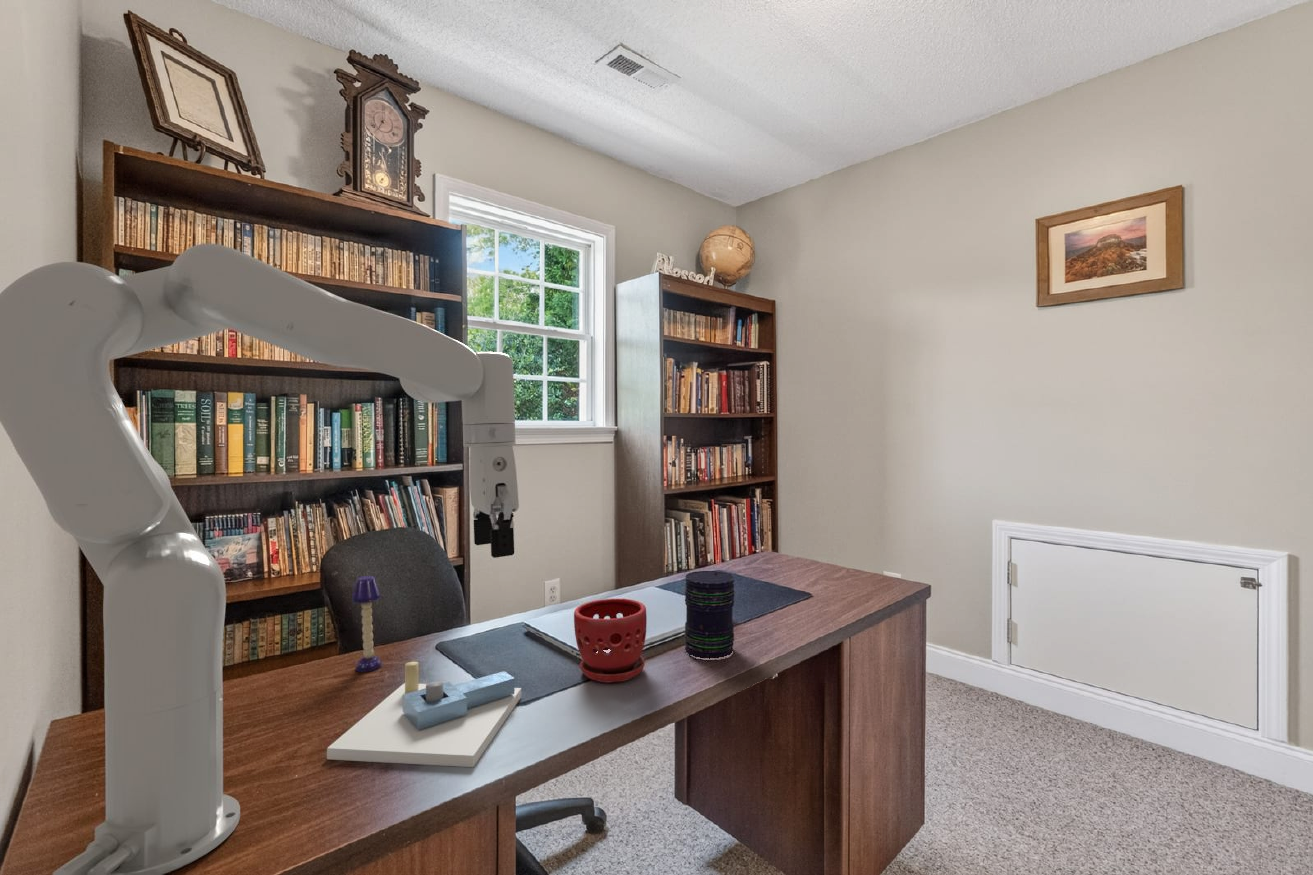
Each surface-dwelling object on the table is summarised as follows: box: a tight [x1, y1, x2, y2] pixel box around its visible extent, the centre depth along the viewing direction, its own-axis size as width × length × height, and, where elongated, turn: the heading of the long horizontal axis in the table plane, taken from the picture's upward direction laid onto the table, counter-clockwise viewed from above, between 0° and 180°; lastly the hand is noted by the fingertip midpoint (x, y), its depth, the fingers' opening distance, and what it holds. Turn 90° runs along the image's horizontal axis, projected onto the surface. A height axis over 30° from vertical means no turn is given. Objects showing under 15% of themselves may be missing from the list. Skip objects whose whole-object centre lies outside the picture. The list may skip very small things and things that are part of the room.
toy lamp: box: [351, 575, 382, 673], centre depth 107 cm, size 5×5×17 cm
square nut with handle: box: [402, 671, 515, 730], centre depth 89 cm, size 16×7×2 cm, turn 130°
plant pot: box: [573, 598, 648, 684], centre depth 105 cm, size 13×13×12 cm
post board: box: [326, 661, 522, 768], centre depth 86 cm, size 20×20×6 cm
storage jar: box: [684, 570, 735, 659], centre depth 116 cm, size 10×10×15 cm
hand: (493, 549), depth 87 cm, fingers open, 9 cm apart
